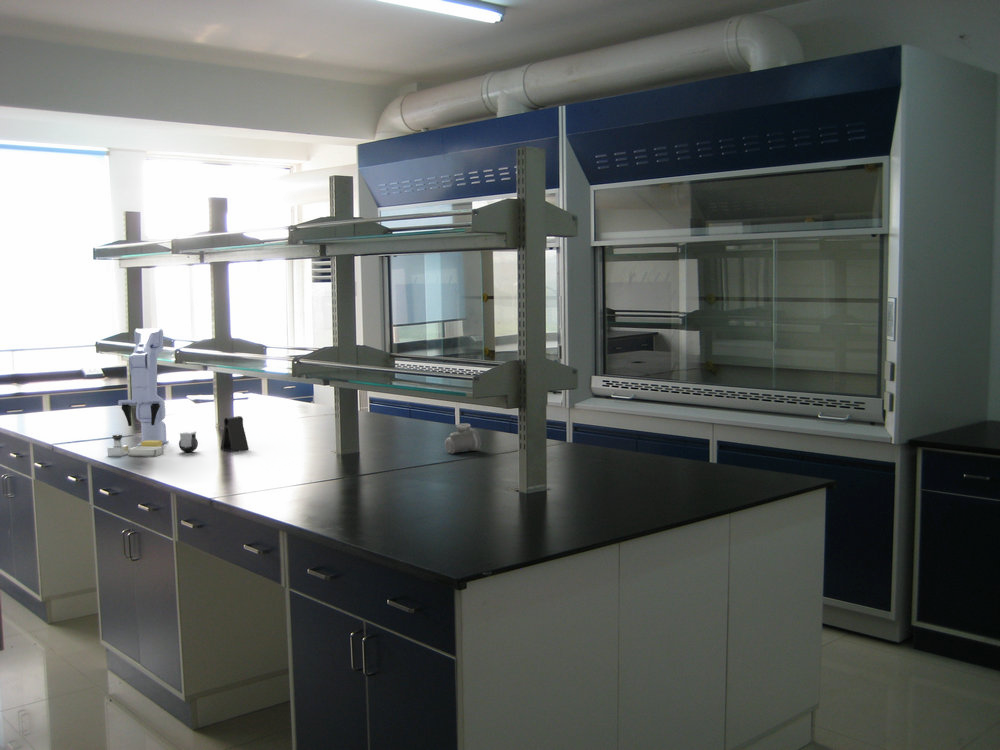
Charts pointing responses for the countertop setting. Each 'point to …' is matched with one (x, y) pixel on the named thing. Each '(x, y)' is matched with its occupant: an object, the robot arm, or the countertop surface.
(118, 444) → the stop pin
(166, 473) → the countertop surface
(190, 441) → the castor
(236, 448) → the phone stand
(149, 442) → the block
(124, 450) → the socket block
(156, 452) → the tray
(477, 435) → the pipe fitting
